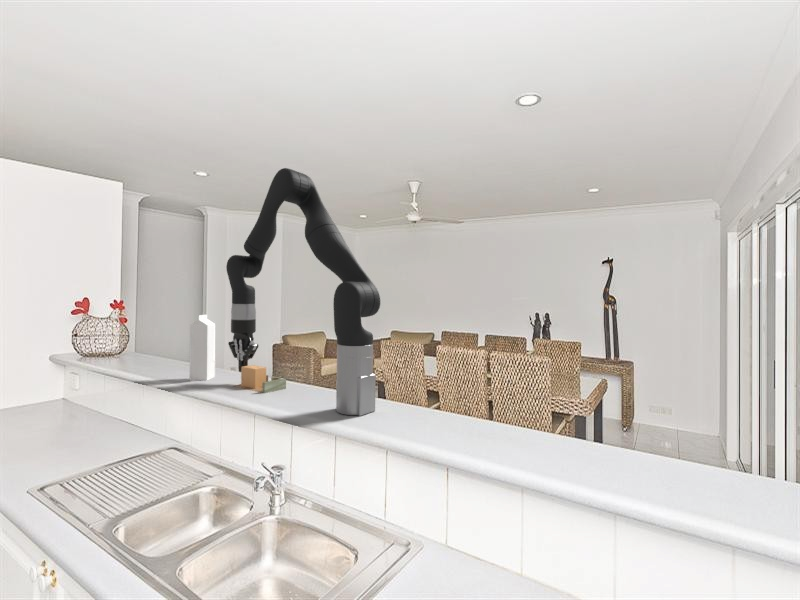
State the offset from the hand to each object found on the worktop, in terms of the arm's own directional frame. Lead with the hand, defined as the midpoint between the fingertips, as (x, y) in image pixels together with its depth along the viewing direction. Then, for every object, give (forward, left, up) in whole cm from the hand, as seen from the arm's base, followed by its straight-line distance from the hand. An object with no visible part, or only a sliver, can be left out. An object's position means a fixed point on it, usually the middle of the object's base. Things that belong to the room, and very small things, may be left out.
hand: (242, 371), depth 143 cm
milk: (+18, +3, -5) cm, 19 cm away
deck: (-8, 0, -4) cm, 9 cm away
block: (-5, 0, -4) cm, 7 cm away
